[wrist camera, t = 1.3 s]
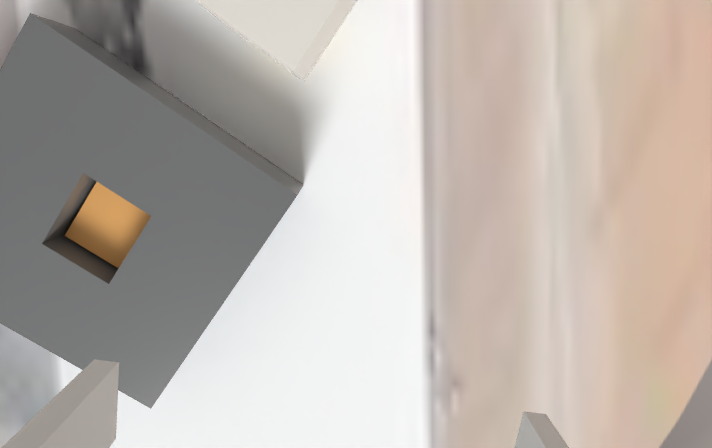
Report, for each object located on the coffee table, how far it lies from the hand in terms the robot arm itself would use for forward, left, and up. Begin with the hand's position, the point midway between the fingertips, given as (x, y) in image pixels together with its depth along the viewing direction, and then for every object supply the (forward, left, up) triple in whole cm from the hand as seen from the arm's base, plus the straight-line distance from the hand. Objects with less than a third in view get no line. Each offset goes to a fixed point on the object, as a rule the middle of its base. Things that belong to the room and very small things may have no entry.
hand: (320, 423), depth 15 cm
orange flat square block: (-15, -8, -21) cm, 27 cm away
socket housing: (-15, -8, -24) cm, 29 cm away
